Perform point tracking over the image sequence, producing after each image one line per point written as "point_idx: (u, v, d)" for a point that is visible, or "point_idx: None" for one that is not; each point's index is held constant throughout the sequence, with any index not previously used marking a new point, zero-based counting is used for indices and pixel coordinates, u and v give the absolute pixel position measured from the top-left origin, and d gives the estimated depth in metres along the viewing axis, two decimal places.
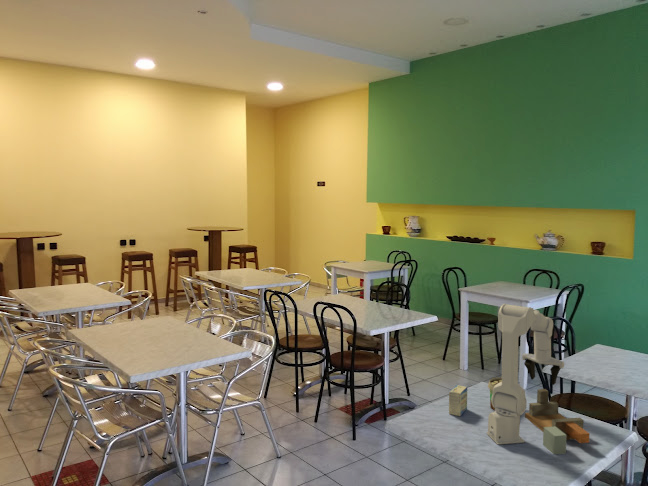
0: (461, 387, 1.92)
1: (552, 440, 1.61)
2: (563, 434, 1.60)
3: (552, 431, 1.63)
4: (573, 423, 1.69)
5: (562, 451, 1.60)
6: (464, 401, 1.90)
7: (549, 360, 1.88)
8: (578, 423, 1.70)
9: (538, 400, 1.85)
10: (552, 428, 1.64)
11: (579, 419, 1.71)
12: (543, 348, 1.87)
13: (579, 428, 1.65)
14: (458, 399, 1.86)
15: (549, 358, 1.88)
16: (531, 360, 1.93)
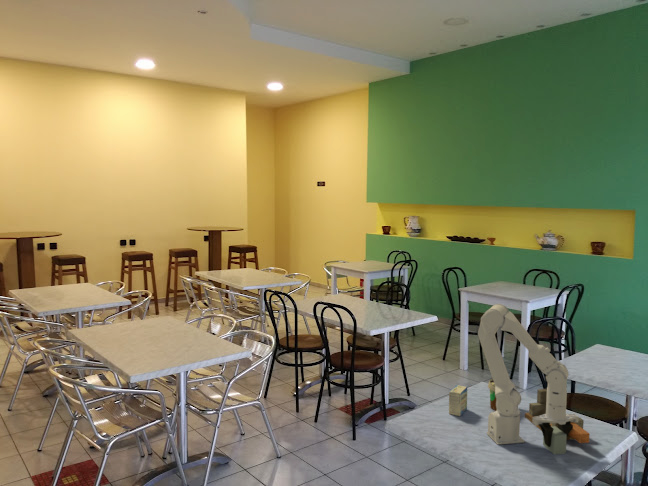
0: (461, 387, 1.92)
1: (552, 440, 1.61)
2: (563, 434, 1.60)
3: None
4: (573, 423, 1.69)
5: (562, 451, 1.60)
6: (464, 401, 1.90)
7: (545, 415, 1.63)
8: (578, 423, 1.70)
9: (538, 400, 1.85)
10: None
11: (579, 419, 1.71)
12: (547, 400, 1.62)
13: (579, 428, 1.65)
14: (458, 399, 1.86)
15: (546, 413, 1.62)
16: None
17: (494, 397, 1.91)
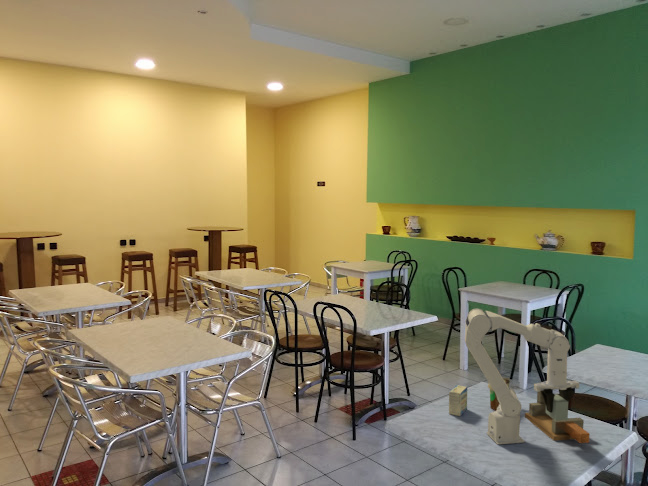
0: (461, 387, 1.92)
1: (553, 407, 1.65)
2: (565, 401, 1.64)
3: (554, 398, 1.66)
4: (573, 423, 1.69)
5: (564, 417, 1.64)
6: (464, 401, 1.90)
7: (547, 382, 1.67)
8: (578, 423, 1.70)
9: (538, 400, 1.85)
10: (554, 396, 1.68)
11: (579, 419, 1.71)
12: (549, 368, 1.65)
13: (579, 428, 1.65)
14: (458, 399, 1.86)
15: (547, 380, 1.66)
16: None
17: (494, 397, 1.91)
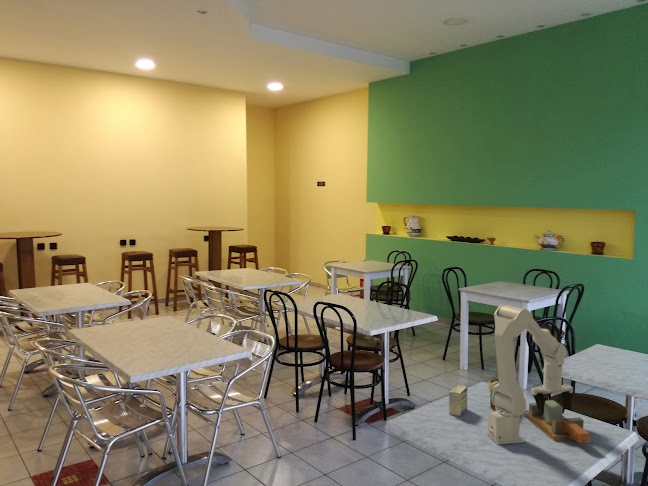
0: (461, 387, 1.92)
1: (549, 412, 1.78)
2: (559, 406, 1.77)
3: (550, 403, 1.80)
4: (573, 423, 1.69)
5: None
6: (464, 401, 1.90)
7: (543, 386, 1.80)
8: (578, 423, 1.70)
9: None
10: (549, 401, 1.81)
11: (579, 419, 1.71)
12: (551, 375, 1.77)
13: (579, 428, 1.65)
14: (458, 399, 1.86)
15: (543, 384, 1.80)
16: None
17: None
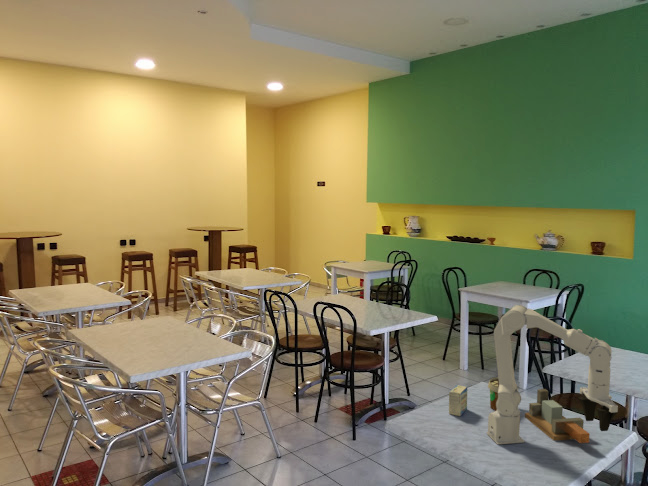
0: (461, 387, 1.92)
1: (549, 412, 1.78)
2: (559, 406, 1.77)
3: (550, 403, 1.80)
4: (573, 423, 1.69)
5: None
6: (464, 401, 1.90)
7: (601, 399, 1.53)
8: (578, 423, 1.70)
9: (538, 400, 1.85)
10: (549, 401, 1.81)
11: (579, 419, 1.71)
12: (589, 379, 1.55)
13: (579, 428, 1.65)
14: (458, 399, 1.86)
15: (602, 397, 1.53)
16: None
17: (494, 397, 1.91)
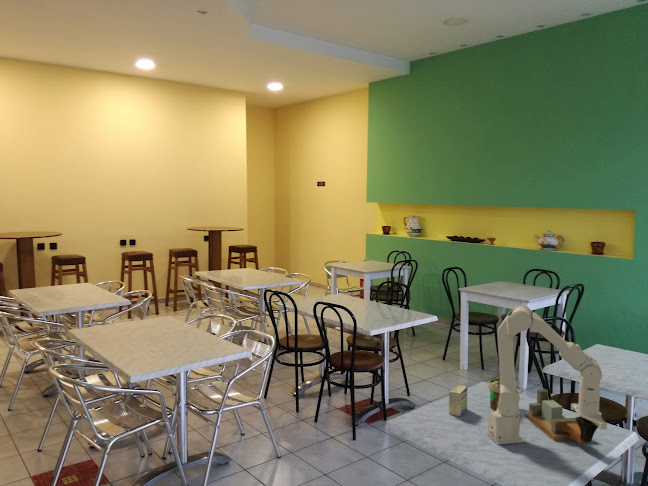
0: (461, 387, 1.92)
1: (549, 412, 1.78)
2: (559, 406, 1.77)
3: (550, 403, 1.80)
4: (573, 423, 1.69)
5: None
6: (464, 401, 1.90)
7: (591, 416, 1.57)
8: None
9: (538, 400, 1.85)
10: (549, 401, 1.81)
11: None
12: (580, 396, 1.60)
13: (578, 428, 1.66)
14: (458, 399, 1.86)
15: (591, 414, 1.57)
16: None
17: (494, 397, 1.91)
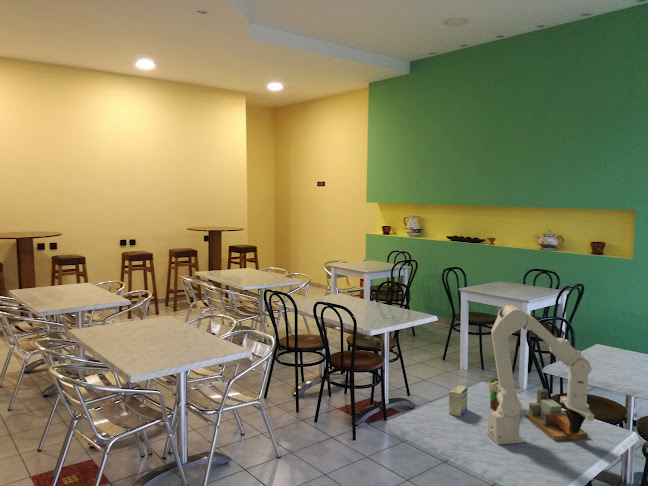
0: (461, 387, 1.92)
1: (548, 411, 1.78)
2: (558, 405, 1.78)
3: (548, 402, 1.80)
4: (562, 415, 1.75)
5: None
6: (464, 401, 1.90)
7: (579, 408, 1.63)
8: None
9: (538, 400, 1.85)
10: (548, 400, 1.82)
11: None
12: (570, 390, 1.65)
13: (568, 420, 1.71)
14: (458, 399, 1.86)
15: (579, 406, 1.63)
16: None
17: (494, 397, 1.91)
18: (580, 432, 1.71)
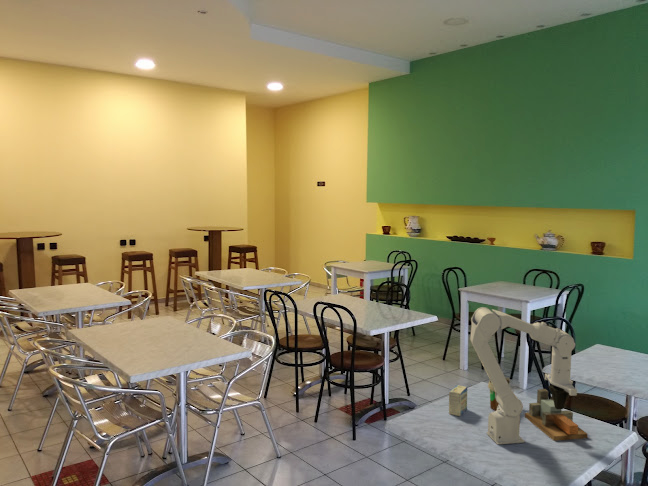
0: (461, 387, 1.92)
1: (548, 411, 1.78)
2: None
3: (548, 402, 1.80)
4: (563, 415, 1.75)
5: None
6: (464, 401, 1.90)
7: (562, 383, 1.65)
8: (567, 416, 1.76)
9: (538, 400, 1.85)
10: (548, 400, 1.82)
11: (568, 412, 1.77)
12: (554, 366, 1.66)
13: (568, 420, 1.71)
14: (458, 399, 1.86)
15: (563, 381, 1.65)
16: None
17: (494, 397, 1.91)
18: (580, 432, 1.71)
